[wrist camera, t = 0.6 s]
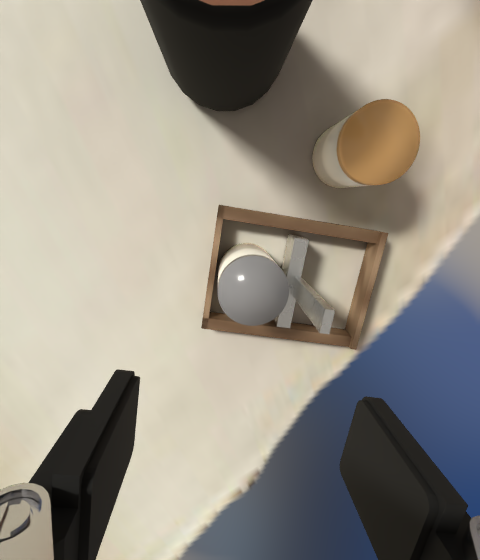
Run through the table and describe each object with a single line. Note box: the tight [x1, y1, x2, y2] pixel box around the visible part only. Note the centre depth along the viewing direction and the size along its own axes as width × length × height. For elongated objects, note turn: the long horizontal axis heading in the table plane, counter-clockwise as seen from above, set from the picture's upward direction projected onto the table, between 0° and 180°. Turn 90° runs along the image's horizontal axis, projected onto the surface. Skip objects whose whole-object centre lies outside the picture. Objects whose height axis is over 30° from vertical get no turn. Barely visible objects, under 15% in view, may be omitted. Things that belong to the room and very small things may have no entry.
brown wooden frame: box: [202, 205, 388, 349], centre depth 33 cm, size 13×17×2 cm
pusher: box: [274, 234, 335, 334], centre depth 28 cm, size 9×1×12 cm, turn 171°
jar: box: [312, 99, 420, 188], centre depth 27 cm, size 6×6×8 cm
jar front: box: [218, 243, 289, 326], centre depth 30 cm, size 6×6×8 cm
